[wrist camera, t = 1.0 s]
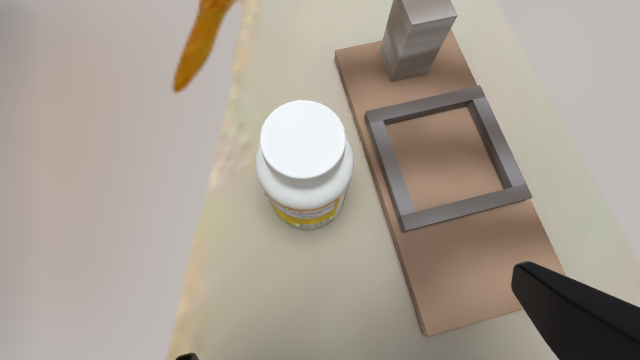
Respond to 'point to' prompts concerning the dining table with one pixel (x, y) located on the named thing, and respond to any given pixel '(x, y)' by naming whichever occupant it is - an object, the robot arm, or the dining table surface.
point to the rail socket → (441, 169)
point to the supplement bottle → (304, 163)
